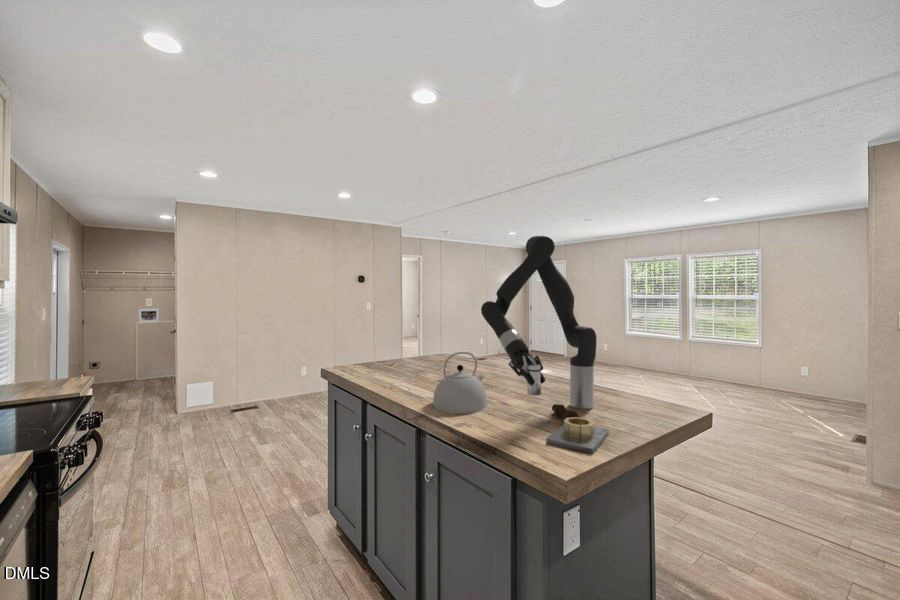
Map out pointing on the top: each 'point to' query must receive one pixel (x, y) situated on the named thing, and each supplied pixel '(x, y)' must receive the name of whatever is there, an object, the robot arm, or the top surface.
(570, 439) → the square base with ring
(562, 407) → the bolt
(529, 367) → the cylinder
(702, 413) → the top surface
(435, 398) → the kettle
